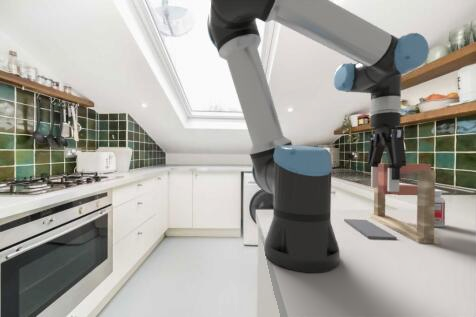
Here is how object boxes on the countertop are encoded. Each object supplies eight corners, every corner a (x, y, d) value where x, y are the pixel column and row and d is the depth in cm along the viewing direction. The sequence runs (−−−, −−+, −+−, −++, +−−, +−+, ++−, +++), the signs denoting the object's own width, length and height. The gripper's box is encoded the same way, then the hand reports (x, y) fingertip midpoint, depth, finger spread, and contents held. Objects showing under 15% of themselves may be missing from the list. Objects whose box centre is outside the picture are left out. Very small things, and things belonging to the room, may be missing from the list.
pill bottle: (428, 221, 74) (429, 188, 74) (450, 227, 68) (450, 191, 68) (414, 222, 73) (414, 188, 73) (434, 228, 67) (434, 191, 67)
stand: (418, 242, 55) (419, 170, 55) (370, 217, 78) (370, 166, 78) (439, 243, 54) (440, 170, 54) (384, 217, 78) (385, 166, 78)
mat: (368, 238, 57) (368, 236, 57) (344, 220, 73) (344, 219, 73) (396, 239, 57) (396, 237, 57) (366, 221, 73) (366, 219, 73)
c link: (383, 194, 65) (383, 163, 65) (377, 192, 68) (378, 163, 68) (430, 195, 64) (431, 164, 64) (422, 193, 67) (423, 163, 67)
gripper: (425, 105, 56) (423, 195, 56) (379, 119, 77) (378, 185, 77) (393, 105, 56) (392, 194, 56) (356, 119, 77) (355, 184, 77)
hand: (384, 189), depth 67 cm, fingers open, 8 cm apart
